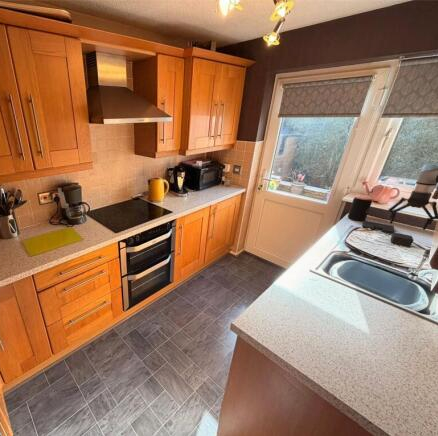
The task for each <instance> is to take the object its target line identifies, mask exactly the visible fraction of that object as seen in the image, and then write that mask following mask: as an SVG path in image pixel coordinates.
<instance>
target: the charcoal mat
mask: <svg viewBox="0 0 438 436" xmlns="http://www.w3.org/2000/svg"><path fill="white" fill-rule="evenodd" d="M362 227H363V228H370V229H373V230H376V231H380V232H381V233H383V232H384V234H388V235H392V234H393V232H395V233H396V229H395V226H394V225H392V224H387V223H381V222H375V221H370V220H363V221H362V226H361V228H362ZM363 228H362V229H363Z"/></svg>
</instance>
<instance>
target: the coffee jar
mask: <svg viewBox="0 0 438 436" xmlns="http://www.w3.org/2000/svg"><path fill="white" fill-rule="evenodd" d="M373 200H374V197H372V196H368V195H360V194H355V195H354V196H353V198H352V202H351V205H350V209H349V211H348V215H347V218H348V219H349V220H351V221H354V222H363V220H365V221H367V217H368V214H369V211H370V209H371V206H372V203H373Z"/></svg>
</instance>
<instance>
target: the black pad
mask: <svg viewBox="0 0 438 436" xmlns="http://www.w3.org/2000/svg"><path fill="white" fill-rule="evenodd" d="M413 242H414V238H413V235H409V234H404V233H399V232H396V231H395V232H393V234H391V237H390V244H391V243H393V244H392V245H395V244H397V246H400V245H401V246H400V247H405V248H411V247H412V245H413Z"/></svg>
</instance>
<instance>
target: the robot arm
mask: <svg viewBox="0 0 438 436" xmlns="http://www.w3.org/2000/svg"><path fill="white" fill-rule="evenodd" d="M437 184H438V163H430V162H429V163H424V164H423V167H422V168H421V169H420V172H419V175H418V177H417V180H416V182H415V184H414V187H413V189H412V191H411V193H410V196H409V197H408V198H405V197H404V196H402V197H401V198H400V199H399V200H398V201H397V202H396V203H394V204H393V205H392V206H391V207H389V208H388V209H387V210H388V212H389V213H390V215H389V218H390V221H389V225H392V224H393V222H394V220H395V218H396V215H397V213H398V212H400V211H402V210H404V209H406V208H409V207H411V208H417V209H421V208H422V210H423V211H424V212H425V214H426V215H427V216H428V217H427V218H426V220H425V222H424V224H423V226H422V230H423V231H426V229H427V227H428V225H431V224H432V223H433V221H434V220H438V208H437V204H438V203H437V201H430V199H431V197H432V195H433V193H434V192H435V191H434V190H435V188H436V187H437ZM405 202H407V203H405ZM403 203H405V204H403ZM401 204H403V205H401ZM400 205H401V206H400ZM427 205H430V207H431V208H432V211H433V215H432V214H431V211H430V210H428V208H427ZM398 206H399V207H398Z"/></svg>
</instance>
